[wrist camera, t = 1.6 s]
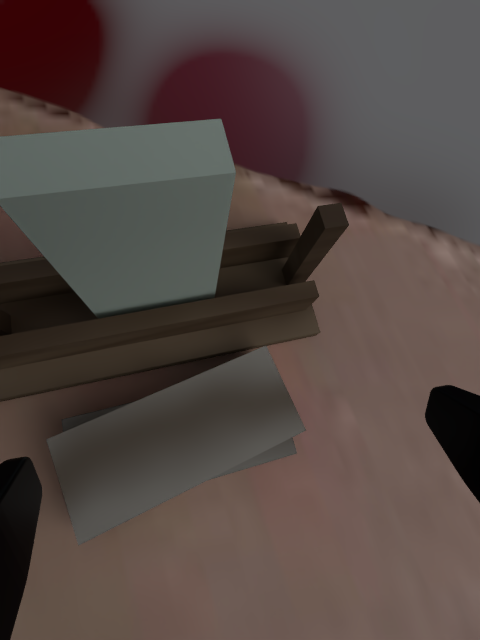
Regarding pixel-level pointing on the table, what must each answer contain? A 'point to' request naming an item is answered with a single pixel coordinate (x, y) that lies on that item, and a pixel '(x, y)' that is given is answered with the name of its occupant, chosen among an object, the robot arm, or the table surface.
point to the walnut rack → (163, 312)
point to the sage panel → (124, 209)
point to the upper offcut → (171, 442)
